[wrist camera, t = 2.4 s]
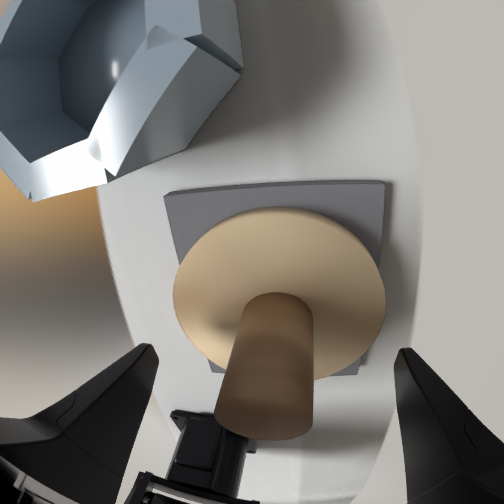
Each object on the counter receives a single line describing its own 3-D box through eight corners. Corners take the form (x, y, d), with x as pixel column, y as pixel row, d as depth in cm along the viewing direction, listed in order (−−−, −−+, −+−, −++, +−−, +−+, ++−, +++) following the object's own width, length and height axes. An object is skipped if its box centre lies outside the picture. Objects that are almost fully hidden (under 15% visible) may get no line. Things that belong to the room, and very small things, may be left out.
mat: (356, 366, 14) (357, 374, 13) (214, 364, 15) (212, 372, 14) (380, 180, 9) (385, 184, 8) (169, 191, 10) (163, 196, 10)
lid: (364, 366, 13) (375, 461, 8) (204, 363, 14) (173, 449, 9) (391, 203, 9) (467, 297, 4) (160, 214, 10) (70, 296, 6)
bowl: (253, 142, 9) (218, 165, 5) (69, 178, 11) (0, 212, 7) (227, -55, 5) (189, -115, 1) (54, 20, 7) (-12, 15, 3)
